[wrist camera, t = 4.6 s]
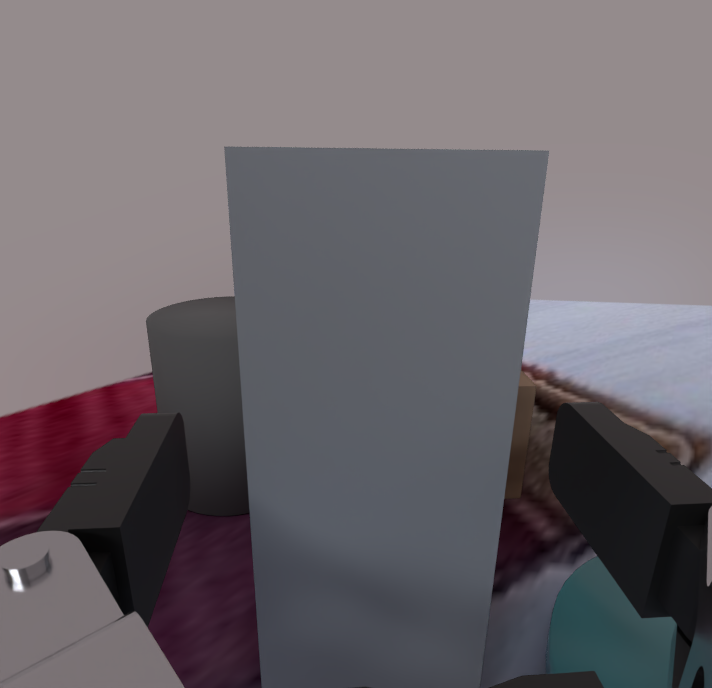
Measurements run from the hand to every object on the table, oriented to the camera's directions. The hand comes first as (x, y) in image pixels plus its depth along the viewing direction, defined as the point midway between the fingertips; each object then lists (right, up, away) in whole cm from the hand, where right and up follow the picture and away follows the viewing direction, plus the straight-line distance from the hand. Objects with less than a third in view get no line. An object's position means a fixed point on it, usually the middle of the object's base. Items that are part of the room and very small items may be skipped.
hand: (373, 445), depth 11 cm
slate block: (0, -6, +4) cm, 7 cm away
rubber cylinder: (-5, -3, +11) cm, 13 cm away
